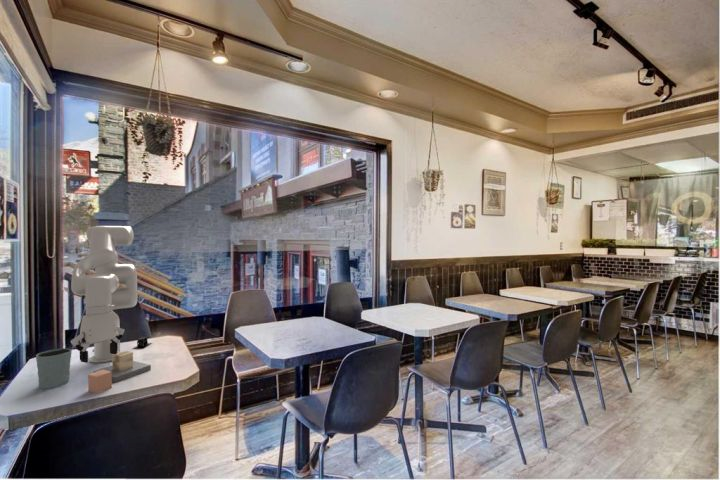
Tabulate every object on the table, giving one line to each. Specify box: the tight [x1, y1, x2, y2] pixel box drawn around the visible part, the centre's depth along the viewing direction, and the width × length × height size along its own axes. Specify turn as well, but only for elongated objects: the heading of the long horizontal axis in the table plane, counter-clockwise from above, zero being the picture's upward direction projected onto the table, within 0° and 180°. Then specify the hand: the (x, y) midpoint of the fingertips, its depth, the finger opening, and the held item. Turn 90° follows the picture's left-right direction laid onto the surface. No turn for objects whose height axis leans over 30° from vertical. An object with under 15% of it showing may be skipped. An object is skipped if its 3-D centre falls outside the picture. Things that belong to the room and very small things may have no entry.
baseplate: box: [93, 360, 152, 383], centre depth 143 cm, size 14×14×2 cm
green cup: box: [35, 347, 73, 390], centre depth 133 cm, size 10×10×12 cm
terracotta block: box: [87, 369, 113, 394], centre depth 128 cm, size 5×5×6 cm
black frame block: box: [132, 336, 153, 350], centre depth 178 cm, size 12×7×5 cm, turn 5°
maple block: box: [111, 350, 134, 371], centre depth 143 cm, size 5×5×6 cm
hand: (99, 357), depth 127 cm, fingers open, 9 cm apart
